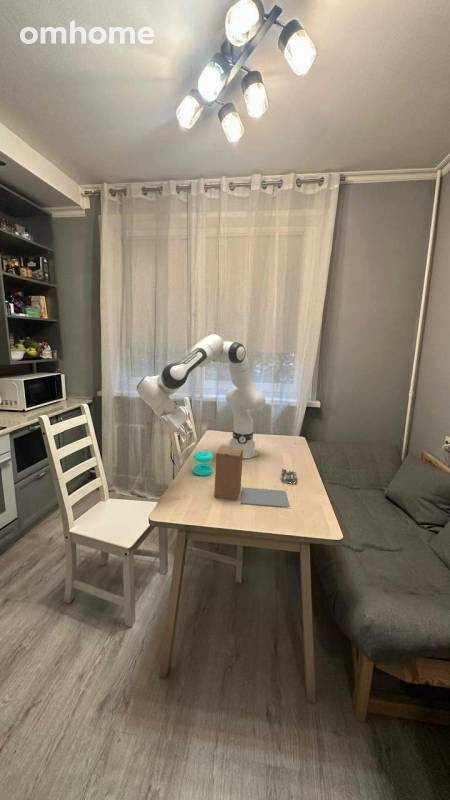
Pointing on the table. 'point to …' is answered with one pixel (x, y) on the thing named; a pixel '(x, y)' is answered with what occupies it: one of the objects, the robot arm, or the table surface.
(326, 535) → the table surface
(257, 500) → the rubber mat
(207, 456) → the donuts
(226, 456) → the wooden block
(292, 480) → the egg carton
